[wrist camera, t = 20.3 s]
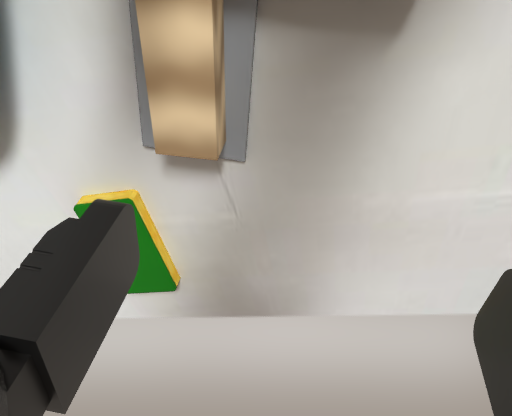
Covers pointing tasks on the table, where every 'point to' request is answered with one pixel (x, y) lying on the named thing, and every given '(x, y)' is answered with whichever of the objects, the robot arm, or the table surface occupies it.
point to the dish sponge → (142, 245)
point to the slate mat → (236, 75)
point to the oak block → (184, 75)
